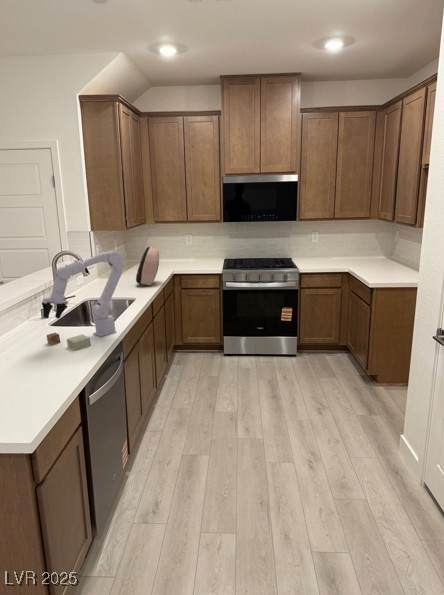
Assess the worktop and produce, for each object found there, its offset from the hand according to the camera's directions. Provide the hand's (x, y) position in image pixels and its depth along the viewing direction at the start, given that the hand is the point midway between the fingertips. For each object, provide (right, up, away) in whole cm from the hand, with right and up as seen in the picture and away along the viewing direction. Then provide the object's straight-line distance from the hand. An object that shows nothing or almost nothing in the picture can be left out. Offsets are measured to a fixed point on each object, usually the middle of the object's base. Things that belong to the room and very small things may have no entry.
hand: (51, 317), depth 201 cm
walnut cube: (-1, -13, +5) cm, 14 cm away
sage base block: (+14, -14, -1) cm, 20 cm away
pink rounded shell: (+26, +20, +126) cm, 131 cm away
